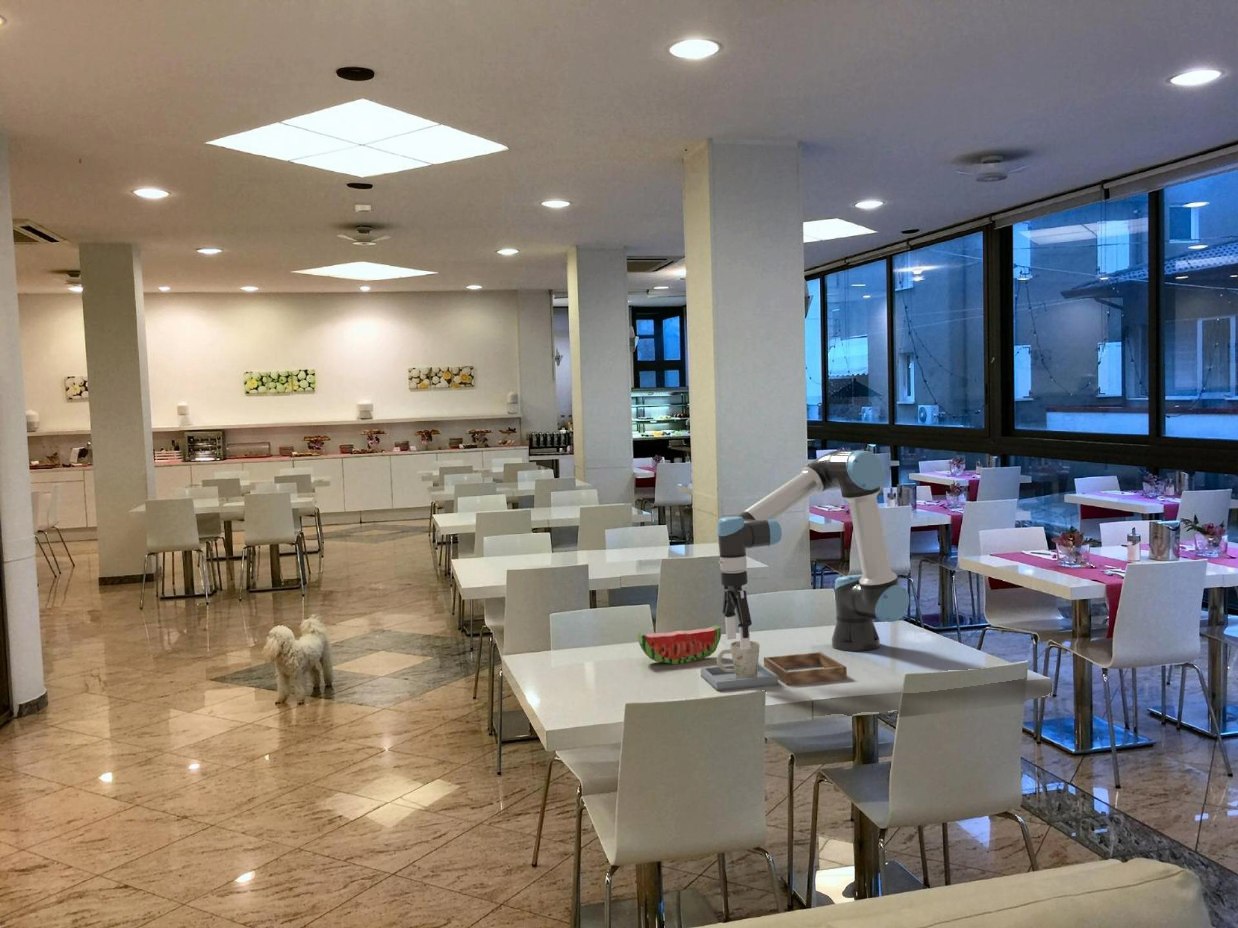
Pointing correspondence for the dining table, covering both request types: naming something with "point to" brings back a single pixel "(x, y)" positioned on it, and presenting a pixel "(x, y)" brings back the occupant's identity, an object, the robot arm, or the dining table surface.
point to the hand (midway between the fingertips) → (738, 643)
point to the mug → (742, 660)
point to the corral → (828, 673)
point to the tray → (728, 679)
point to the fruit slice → (680, 645)
